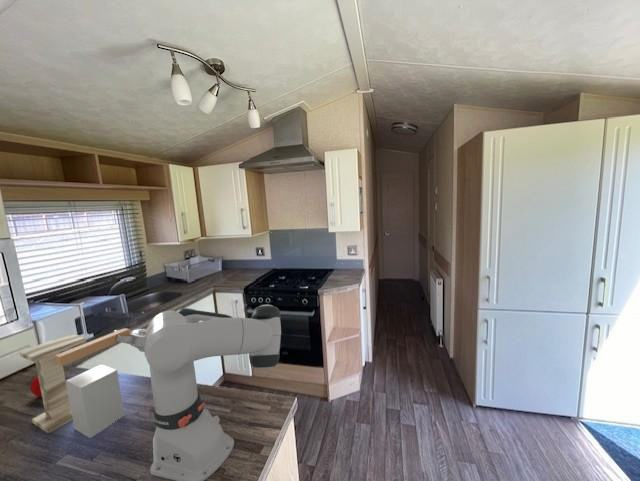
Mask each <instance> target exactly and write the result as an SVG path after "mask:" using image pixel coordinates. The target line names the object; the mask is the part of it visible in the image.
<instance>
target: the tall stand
mask: <svg viewBox="0 0 640 481" xmlns="http://www.w3.org/2000/svg"><path fill="white" fill-rule="evenodd" d="M52 340H53V341H50V342H47V343H44V342H43V343H44V344H42V343H40V344H41V345H40V344H38V345H39V346H38V345H36V346H34V347H33V346H32V347H30V348H28V349H24V350H22V351H19V355H20V358H24V359H26V360H27V361H30V362H32V363H34V362H35V368H36V373H37V376H38V378H39V383H40V388H41V393H42V397H41V398H42V404H43V408H44V412H43V413H41V414H38V415H37V416H35V417H33V418H31V422H32V424H34V425H35V426H36V427H38V428H40V429H41V430H43V431H44V432H45V433H46V434H50V433H52V432H54V431H55V430H57V429H59V428H61V427H63V426H65V425H66V424H68V423H69V422H72V421H73V418H72V413H71V407H70V402H69V396H68V391H67V385H66V376H65V375H66V374H65V369H64V366H59V365H57V363H56V358H55V355H57V354H60V353H62V352H64V351H67V350H70V349H72V348H75V347H77V346H80V345H83V344H85V343H87V338H86V337H84V336H81V335H78V334H73V333H71V334H67V335H64V336H62V337H59V338H56V339H52Z"/></svg>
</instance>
